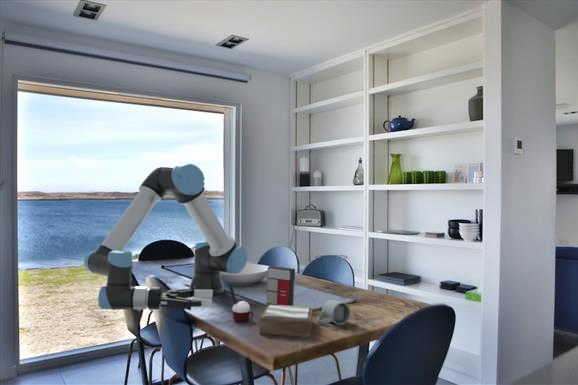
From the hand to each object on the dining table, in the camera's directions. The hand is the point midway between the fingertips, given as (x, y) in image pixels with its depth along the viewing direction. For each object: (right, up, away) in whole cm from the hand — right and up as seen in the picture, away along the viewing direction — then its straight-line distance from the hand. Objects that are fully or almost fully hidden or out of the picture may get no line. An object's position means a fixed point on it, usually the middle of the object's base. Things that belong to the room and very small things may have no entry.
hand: (212, 298), depth 143 cm
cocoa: (+10, -8, +2) cm, 13 cm away
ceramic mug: (+42, -10, +3) cm, 43 cm away
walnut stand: (+26, -9, -5) cm, 28 cm away
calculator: (+23, -9, +25) cm, 35 cm away
